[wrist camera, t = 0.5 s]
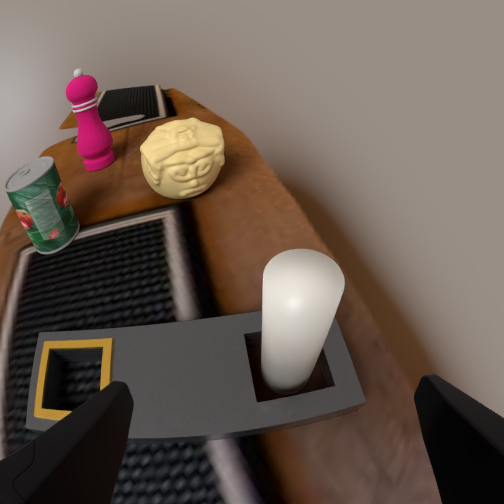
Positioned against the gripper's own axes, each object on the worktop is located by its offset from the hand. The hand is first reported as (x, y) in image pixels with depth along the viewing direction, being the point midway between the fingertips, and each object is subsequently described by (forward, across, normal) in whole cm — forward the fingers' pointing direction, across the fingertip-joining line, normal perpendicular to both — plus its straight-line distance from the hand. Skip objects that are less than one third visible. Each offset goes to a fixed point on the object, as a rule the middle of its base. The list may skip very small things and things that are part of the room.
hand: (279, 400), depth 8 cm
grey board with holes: (+12, +7, +12) cm, 18 cm away
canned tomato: (+30, +30, +4) cm, 42 cm away
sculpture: (+39, +11, 0) cm, 40 cm away
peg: (+13, -2, +11) cm, 17 cm away
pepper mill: (+48, +31, -5) cm, 58 cm away
